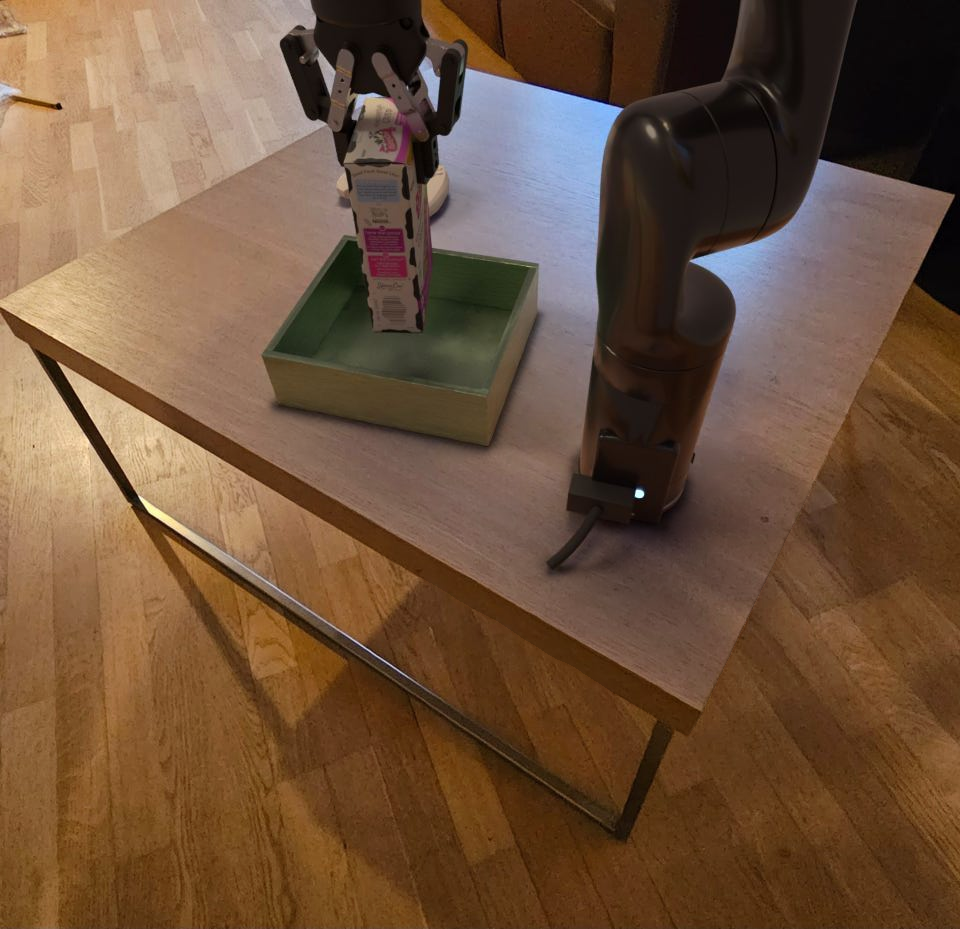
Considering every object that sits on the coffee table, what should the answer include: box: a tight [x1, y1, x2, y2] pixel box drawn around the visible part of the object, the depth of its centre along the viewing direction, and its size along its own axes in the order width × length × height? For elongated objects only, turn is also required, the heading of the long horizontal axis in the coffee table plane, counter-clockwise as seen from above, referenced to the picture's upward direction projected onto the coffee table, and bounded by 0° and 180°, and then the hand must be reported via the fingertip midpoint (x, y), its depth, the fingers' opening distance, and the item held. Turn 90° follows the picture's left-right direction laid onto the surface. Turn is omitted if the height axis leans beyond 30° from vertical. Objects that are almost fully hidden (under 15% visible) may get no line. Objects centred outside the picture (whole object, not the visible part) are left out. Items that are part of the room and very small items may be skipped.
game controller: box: [335, 163, 450, 218], centre depth 92 cm, size 14×4×10 cm
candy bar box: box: [343, 96, 433, 334], centre depth 63 cm, size 11×5×16 cm, turn 177°
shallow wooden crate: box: [260, 234, 540, 447], centre depth 72 cm, size 20×22×7 cm
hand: (390, 174), depth 59 cm, fingers closed on candy bar box, 5 cm apart
